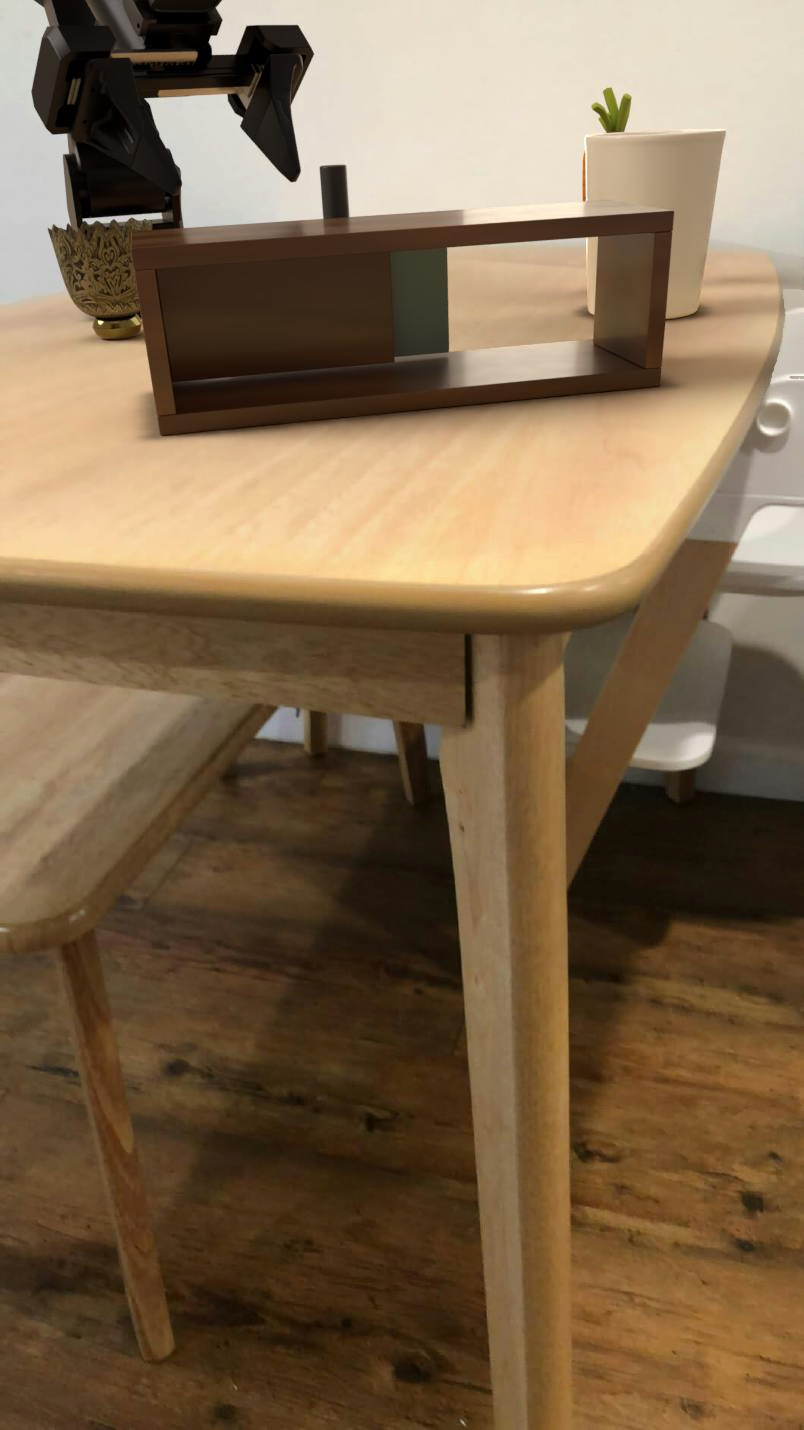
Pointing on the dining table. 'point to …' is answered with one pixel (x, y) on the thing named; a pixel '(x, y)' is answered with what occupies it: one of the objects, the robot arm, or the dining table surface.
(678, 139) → the white plant pot
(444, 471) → the dining table surface
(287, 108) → the robot arm
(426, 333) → the dark piece
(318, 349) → the display case
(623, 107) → the carrot
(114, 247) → the cup
